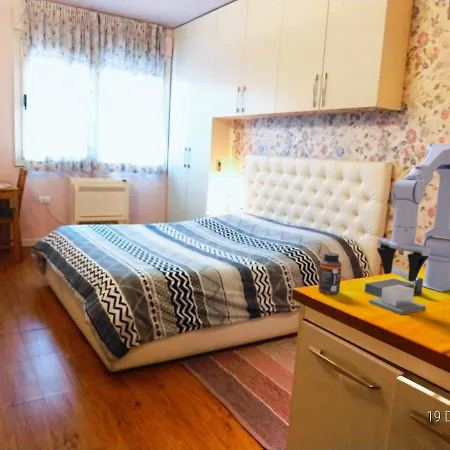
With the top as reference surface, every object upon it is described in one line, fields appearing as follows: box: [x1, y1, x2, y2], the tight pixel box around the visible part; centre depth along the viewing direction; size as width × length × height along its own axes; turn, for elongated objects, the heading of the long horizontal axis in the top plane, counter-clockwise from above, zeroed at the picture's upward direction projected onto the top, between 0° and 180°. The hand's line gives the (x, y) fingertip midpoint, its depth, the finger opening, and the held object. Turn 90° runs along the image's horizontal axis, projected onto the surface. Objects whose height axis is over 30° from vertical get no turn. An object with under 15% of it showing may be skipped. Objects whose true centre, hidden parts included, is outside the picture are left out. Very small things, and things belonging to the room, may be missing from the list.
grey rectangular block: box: [380, 285, 415, 307], centre depth 117 cm, size 7×4×4 cm, turn 122°
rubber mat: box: [368, 297, 426, 315], centre depth 118 cm, size 10×10×1 cm
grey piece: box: [364, 278, 415, 298], centre depth 130 cm, size 13×7×2 cm, turn 122°
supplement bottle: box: [318, 252, 342, 295], centre depth 127 cm, size 6×6×11 cm
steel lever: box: [391, 263, 424, 296], centre depth 136 cm, size 2×18×5 cm, turn 7°
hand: (399, 277), depth 117 cm, fingers open, 7 cm apart
